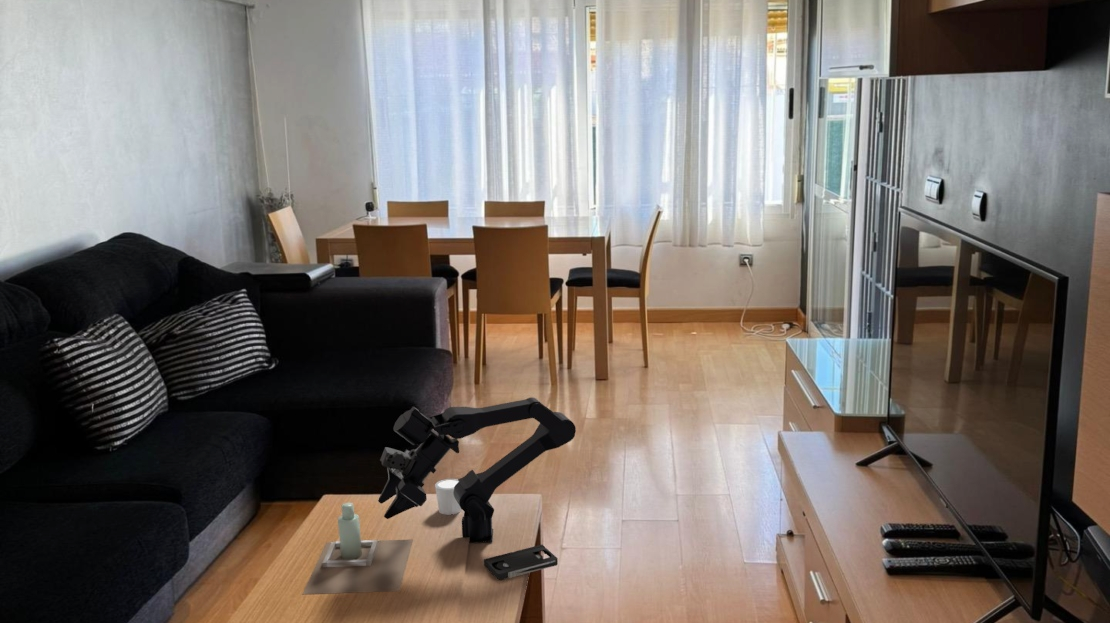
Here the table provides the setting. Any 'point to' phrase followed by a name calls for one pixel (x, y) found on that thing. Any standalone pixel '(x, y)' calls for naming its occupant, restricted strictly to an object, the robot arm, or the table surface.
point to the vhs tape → (520, 562)
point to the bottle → (349, 533)
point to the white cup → (447, 497)
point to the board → (360, 568)
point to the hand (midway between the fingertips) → (382, 509)
